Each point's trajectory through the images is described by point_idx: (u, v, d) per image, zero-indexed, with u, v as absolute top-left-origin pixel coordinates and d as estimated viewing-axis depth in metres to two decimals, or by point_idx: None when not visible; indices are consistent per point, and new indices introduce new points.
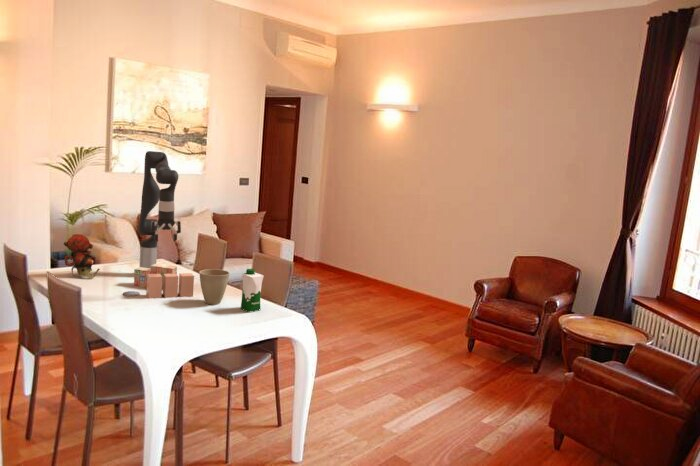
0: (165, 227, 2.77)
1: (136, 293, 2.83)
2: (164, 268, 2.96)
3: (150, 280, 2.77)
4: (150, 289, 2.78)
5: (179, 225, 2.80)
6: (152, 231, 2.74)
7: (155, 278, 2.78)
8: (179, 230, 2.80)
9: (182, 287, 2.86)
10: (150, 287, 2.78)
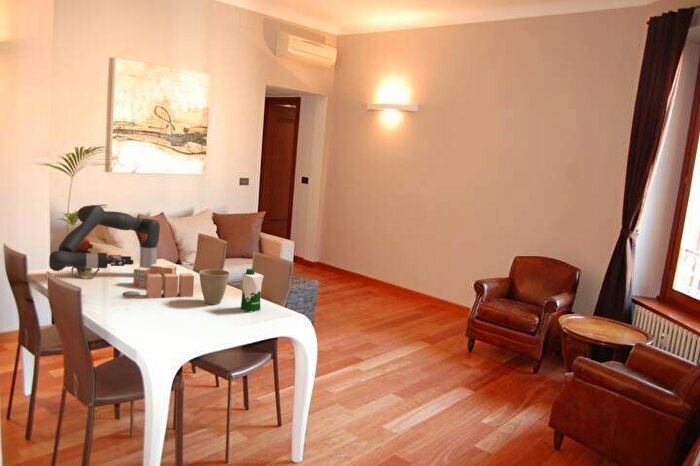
0: None
1: (136, 293, 2.83)
2: (164, 268, 2.96)
3: (150, 280, 2.77)
4: (150, 289, 2.78)
5: (115, 265, 2.65)
6: None
7: (155, 278, 2.78)
8: (121, 265, 2.66)
9: (182, 287, 2.86)
10: (150, 287, 2.78)
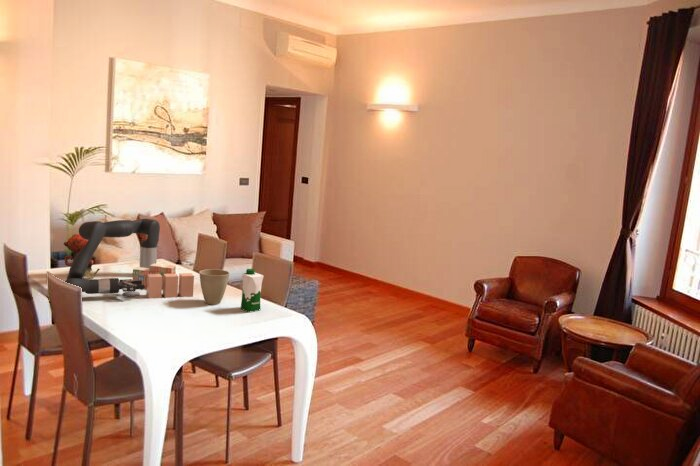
0: None
1: (136, 293, 2.83)
2: (163, 268, 2.96)
3: (150, 280, 2.77)
4: (150, 289, 2.78)
5: None
6: None
7: (155, 278, 2.78)
8: None
9: (182, 287, 2.86)
10: (150, 287, 2.78)
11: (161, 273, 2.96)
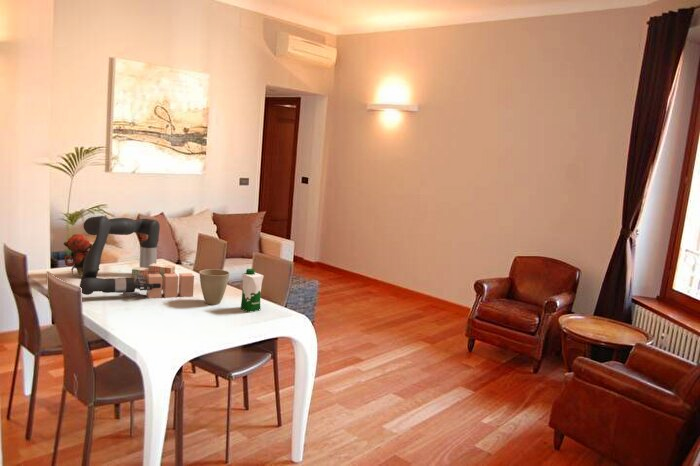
0: None
1: (136, 293, 2.83)
2: (162, 268, 2.96)
3: (150, 280, 2.77)
4: None
5: None
6: None
7: (155, 278, 2.78)
8: None
9: (182, 287, 2.86)
10: None
11: (160, 273, 2.97)
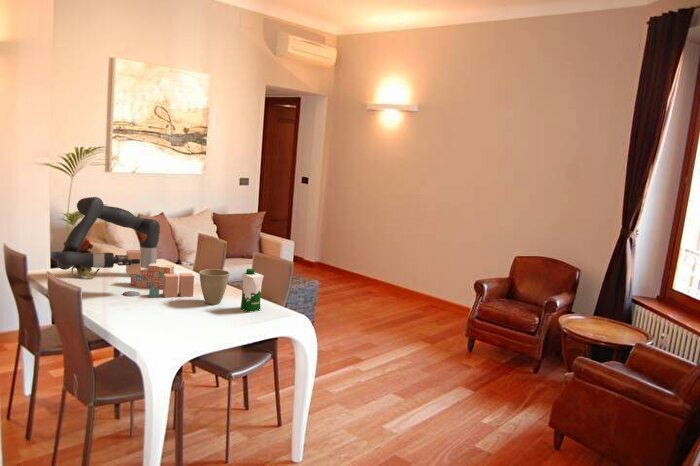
0: None
1: (136, 293, 2.83)
2: (161, 267, 2.96)
3: (129, 256, 2.76)
4: (129, 265, 2.76)
5: None
6: None
7: (134, 254, 2.77)
8: (128, 264, 2.74)
9: (182, 287, 2.86)
10: None
11: (159, 273, 2.97)
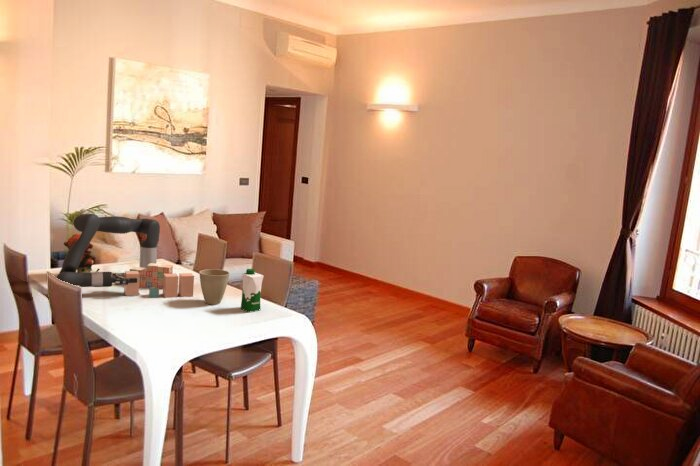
0: None
1: None
2: (160, 267, 2.96)
3: (127, 277, 2.77)
4: (127, 286, 2.78)
5: None
6: None
7: (132, 275, 2.78)
8: None
9: (182, 287, 2.86)
10: None
11: (158, 273, 2.97)
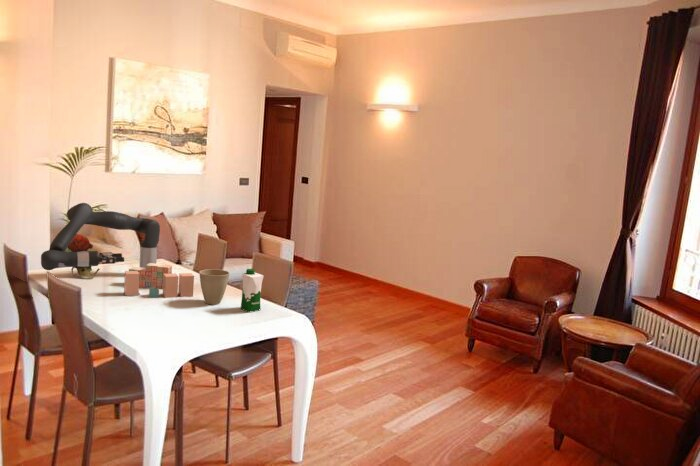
0: None
1: None
2: (160, 267, 2.96)
3: (127, 277, 2.77)
4: (127, 286, 2.78)
5: None
6: None
7: (132, 275, 2.78)
8: None
9: (182, 287, 2.86)
10: (127, 284, 2.78)
11: (158, 272, 2.97)
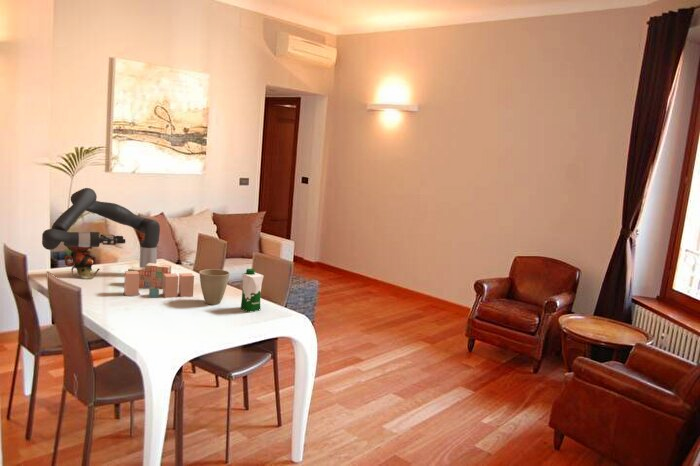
0: None
1: None
2: (159, 267, 2.96)
3: (127, 277, 2.77)
4: (127, 286, 2.78)
5: None
6: None
7: (132, 275, 2.78)
8: None
9: (182, 287, 2.86)
10: (127, 284, 2.78)
11: (157, 272, 2.97)
